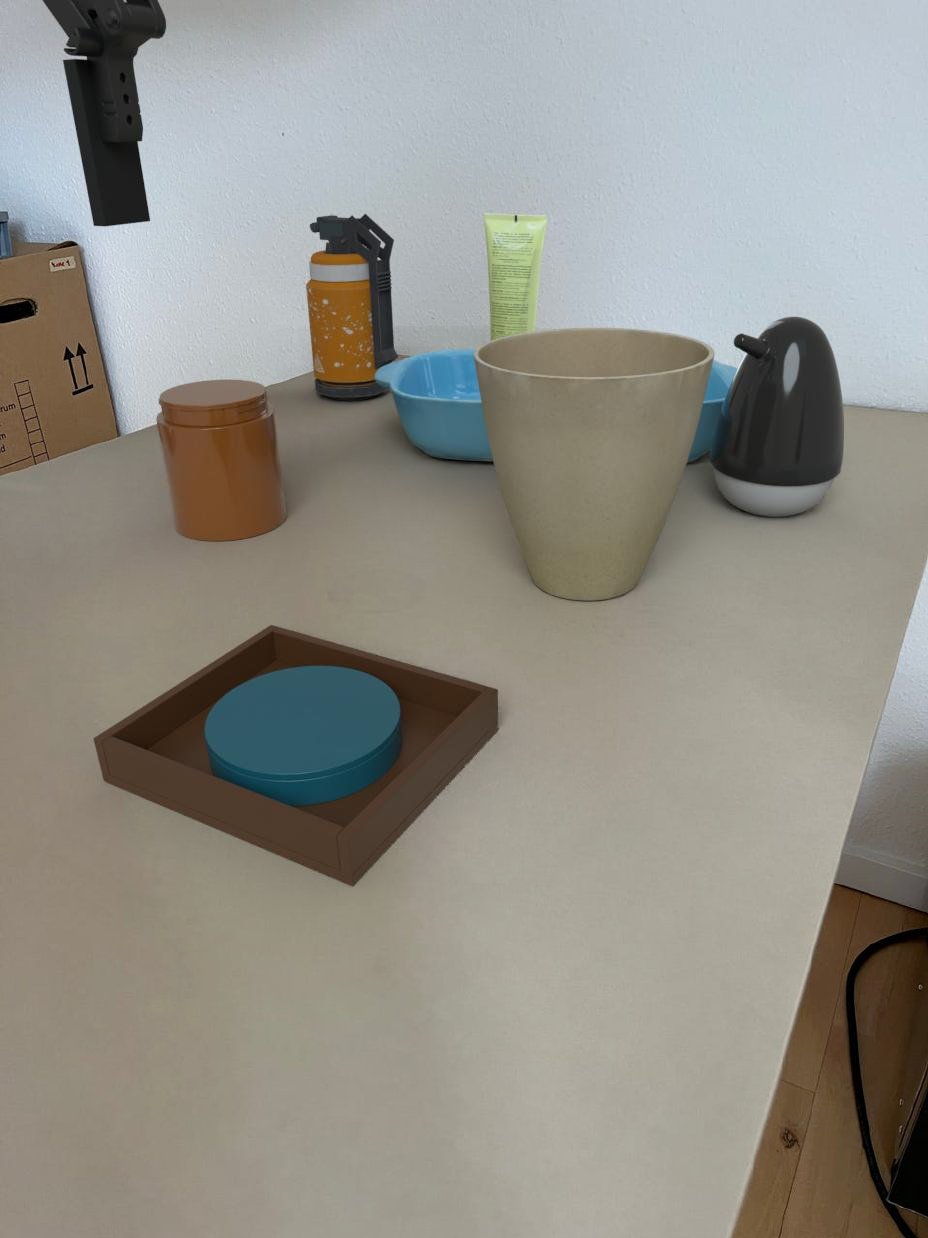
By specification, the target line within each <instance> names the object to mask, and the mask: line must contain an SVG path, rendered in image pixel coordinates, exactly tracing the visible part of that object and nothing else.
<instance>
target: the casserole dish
mask: <svg viewBox="0 0 928 1238" xmlns="http://www.w3.org/2000/svg"><path fill="white" fill-rule="evenodd" d="M476 349H477V348H476ZM476 349H473V348H470V349H469V348H467V349H462V348H461V349H443V350H433V351H426V352H422V353H417V354H413V355H411V356H409V357H406V358H404V359H400V360H396V361H392V362H391V363H390V364H387V365H384V366H382V367H381V368H379V369H378V370H377V372H376V373H375V376H374V379H375V381H376V382H377V383H378V384H380V385H382V386H385V387H390V388H389V390H390V392H391V395H392V399H393V402H394V404H395V408H396V411H397V414H398V416H399V420H400V423H401V425H402V427H403V429H404V431H405V433H406V435H407V437H408V439H409V440H410V441H411V443H413V445H415V446H416V448H418V449H420V450H422V451H423V452H424V453H425V454H427V455H429V456H430V457H434V458H439V459H446V460H457V461H474V462H494V461H493V457H492V453H491V448H490V444H489V439H488V435H487V430H486V425H485V420H484V415H483V409H482V403H481V397H480V391H479V385H478V379H477V374H476V367H475V361H474V351H475V350H476ZM737 369H738V367H735V366H732V365H728V364H724V363H721V362H719V361H718V360H715V359H713V364H712V368H711V372H710V377H709V381H708V385H707V389H706V394H705V398H704V402H703V406H702V411H701V415H700V419H699V422H698V426H697V430H696V433H695V437H694V441H693V444H692V447H691V451H690V454H689V457H688V460H687V463H686V464H689V463H692V462H695V461H697V460H698V459H699V458H701V457H703V456H704V455H705V454H707V453H708V452H710V451H711V447H712V442H713V438H714V434H715V430H716V426H717V422H718V419H719V415H720V412H721V409H722V406H723V403H724V400H725V397H726V395H727V392H728V390H729V387H730V385H731V383H732V380H733V378H734V376H735V374H736V371H737Z"/></svg>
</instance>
